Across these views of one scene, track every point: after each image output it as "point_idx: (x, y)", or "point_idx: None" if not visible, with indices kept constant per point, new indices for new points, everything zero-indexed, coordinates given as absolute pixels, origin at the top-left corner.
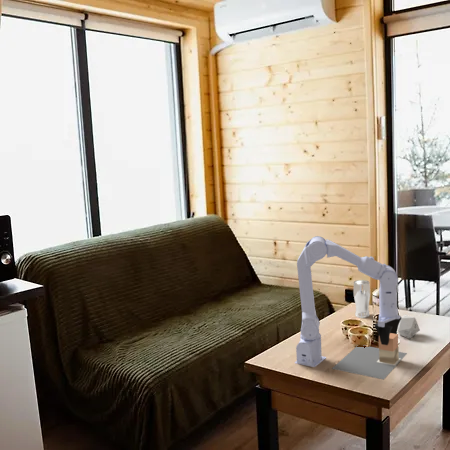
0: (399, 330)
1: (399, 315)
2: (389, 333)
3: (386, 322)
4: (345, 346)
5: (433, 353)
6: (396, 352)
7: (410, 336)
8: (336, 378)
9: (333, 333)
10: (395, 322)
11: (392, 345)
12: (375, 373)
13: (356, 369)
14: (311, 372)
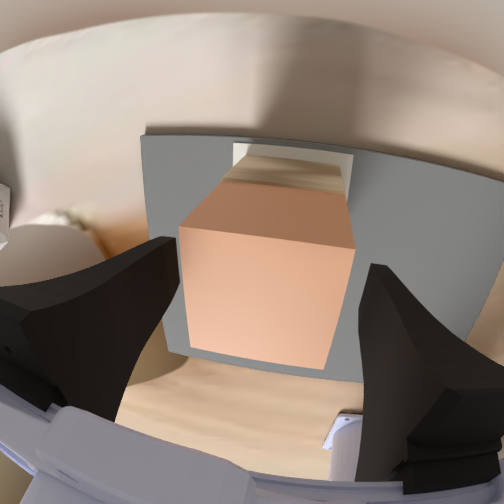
0: (4, 238)
1: (44, 463)
2: (431, 333)
3: (351, 487)
4: (200, 381)
5: (81, 32)
6: (277, 174)
7: (3, 188)
8: (499, 351)
9: (129, 403)
10: (84, 331)
11: (349, 221)
12: (475, 237)
13: (440, 319)
14: None
